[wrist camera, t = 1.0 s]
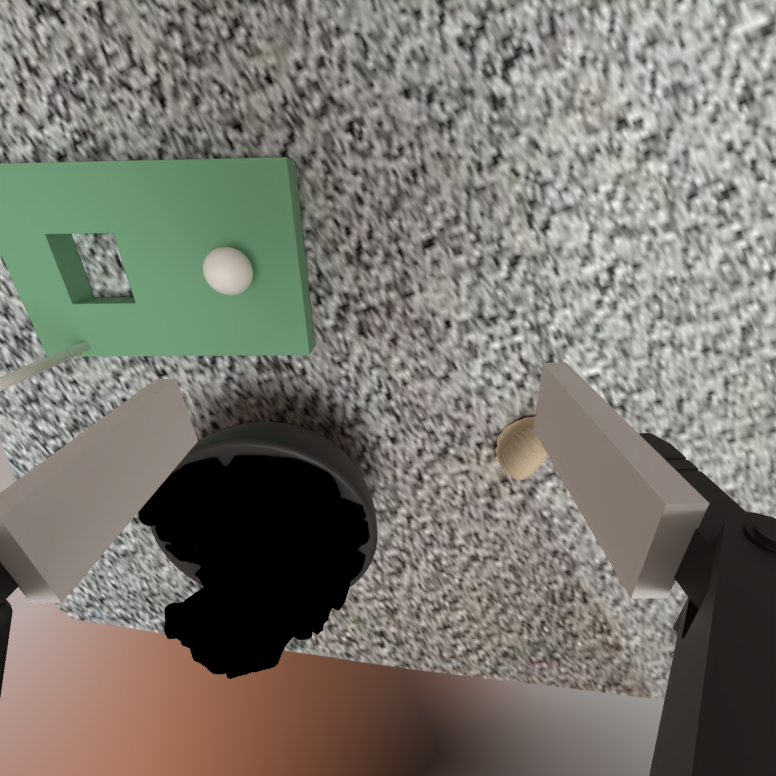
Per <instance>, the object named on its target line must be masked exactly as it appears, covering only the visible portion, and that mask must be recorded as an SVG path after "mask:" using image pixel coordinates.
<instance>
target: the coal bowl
mask: <svg viewBox="0 0 776 776" xmlns="http://www.w3.org/2000/svg"><path fill="white" fill-rule="evenodd" d="M138 514H139V518H140V521H141V522H142V523H143V524H144V525H147V526H150V527H151V530H152V533H153V535H154V537H155V539H156V541H157V543H158V545H159V546H160V548H161V549H162V551H163V552H164V554H165V555H166V556H167V557H168V558H169V560H170V561H171V562H172V563H173V564H174V565H175V566H176V567H177V568H178V569H179V570H181V571H182V572H183V573H184V574H186V575H187V576H188V577H190V578H191V579H192V580H194V581H195V582H197V583H199V584H200V585H202V586H204V587H203V588H202V589H200V590H199V591H197V592H195V593H194V594H193V595H192V596H190V597H189V598H187V599H186V600H185V601H184V602H180V603H171V604H169V605H167V606H166V607H165V611H164V612H165V627H164V632H165V634H166V636H167V638H169V639H175V638H176V639H178V640H180V641H181V644H182V645H183V646H186V647H188V648H190V650H191V654H192V657H193V660H194V661H196V662H199V663H201V664H202V665H203V666H205V667H206V668H207V669H208V670H209V671H210V672H212V673H213V674H225V673H226V675H227V677H228V678H230V679H232V678H235V677H238V676H241V675H245V674H248V673H251V672H258V671H261V670H265V669H270V668H272V667H275V666H276V665H277V664H278V662H279V660H280V657H281V654H282V652H283V650H284V647H285V646H286V645H287V644H288V642H289V641H290V640H291V639H292V638H293V637H295V638H296V639H297V640H306V639H309V638H311V637H312V632H314V633H315V634H316V635H317V634H319V633H320V632H321V631H323V626H324V623H325V622H326V621H327V620H328V618H329V614H330V611H331V609H332V608H333V609H335V610H340V609H341V607H342V606H343V604H344V602H345V600H346V597H347V594H348V590H349V587H351V586H352V585H353V584H355V583H356V582H357V581H358V580H359V579H360V578H361V577H362V575H363V574H364V573H365V572H366V570H367V569H368V567H369V565H370V563H371V561H372V559H373V556H374V553H375V550H376V545H377V521H376V513H375V508H374V504H373V501H372V497H371V494H370V492H369V489H368V487H367V485H366V482H365V480H364V478H363V476H362V475H361V473H360V472H359V470H358V469H357V467H356V465H355V464H354V463H353V462H352V460H351V459H350V458H349V457H348V456H347V455H346V454H345V453H344V452H343V451H342V450H341V449H340V448H339V447H338V446H336V445H335V444H334V443H333V442H331V441H330V440H328V439H327V438H325V437H323V436H322V435H320V434H318V433H316V432H314V431H311V430H309V429H306V428H304V427H300V426H297V425H293V424H288V423H282V422H252V423H245V424H240V425H236V426H232V427H229V428H225V429H222V430H220V431H217V432H215V433H213V434H210V435H208V436H206V437H204V438H203V439H201V440H199V441H198V442H197V443H196V444H195V445H194V446H193V448H192V449H191V450H190V451H189V452H188V454H187V455H186V456H185V457H184V458H183V459H182V461H181V462H180V463H179V464H178V465H177V467H176V468H175V469H174V470H173V471H172V473H171V474H170V475H169V476H168V477H167V478H166V480H165V481H164V482H163V483H162V484H161V486H160V487H159V488H158V489H157V490H156V492H155V493H154V494H153V495H152V496H151V497H150V499H149V500H148V501H147V502H146V503H145V505H144V506H143V507H142V508H141V509H140V510H139V513H138Z"/></svg>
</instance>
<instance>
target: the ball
mask: <svg viewBox="0 0 776 776" xmlns="http://www.w3.org/2000/svg"><path fill="white" fill-rule="evenodd" d="M203 274H204V277H205V279H206V281H207V282H208V284H209V285H210V286H211V287H212V288H213V289H214V290H216V291H217V292H219V293H222V294H225V295H236V294H240V293H242V292H244V291H245V290H246V289H247V288H248V287H249V286H250V284H251V282H252V279H253V269H252V266H251V263H250V261H249V260H248V258H247V257H246V256H245V255H244V254H243V253H242V252H240V251H238V250H236V249H234V248H230V247H220V248H216V249H214V250H212V251H211V252H210V253H209V254H208V255H207V256H206V258H205V260H204V263H203Z"/></svg>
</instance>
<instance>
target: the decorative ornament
mask: <svg viewBox="0 0 776 776" xmlns="http://www.w3.org/2000/svg"><path fill="white" fill-rule="evenodd" d="M534 423H535V417H534V416H533V417H525V418H523V419H522V420H516V421H515V422H513V423H512V424H510V425H508V426H506V427H505V428H504V429H503V431H502V433H501V434H500V435H499V436H498V438H497V447H496V449H495V452H496V454H497V456H496V460H497V461H498V462H499V463H500V465H501V467H502V469H503V470H504V472H505V473H506V474H508V475H509V476H511V477H512V478H514V479H516V480H524V479H526V478H527V477H529V476H530V475H531V474H532V473H534V472H535V471H536V470H537V469H538V468H539V466H540V465H541V464H542V463H543V462H544V461H545V460H546V458H547V457H548V454H547V453H546V451H545V449H544V447H543V446H542V444H541V442H540V441H539V439H538V437H537V435H536V434H535V432H534Z"/></svg>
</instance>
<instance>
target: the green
mask: <svg viewBox="0 0 776 776" xmlns="http://www.w3.org/2000/svg"><path fill="white" fill-rule="evenodd" d="M74 233H114V236H115V240H116V243H117V246H118V249H119V252H120V255H121V258H122V262H123V265H124V268H125V271H126V274H127V277H128V280H129V283H130V287H131V290H132V293H133V296H134V297H96V298H94V296H93V293H92V290H91V287H90V285H89V282H88V279H87V276H86V274H85V271H84V268H83V265H82V263H81V260H80V257H79V255H78V252H77V249H76V246H75V244H74V241H73V238H72V235H71V234H74ZM220 247H230V248H234V249H236V250H238V251H240V252H242V253H243V254H244V255H245V256H246V257H247V258H248V260H249V261H250V263H251V266H252V269H253V279H252V282H251V284H250V286H249V287H248V288H247V289H246V290H245V291H244V292H242V293H240V294H236V295H225V294H222V293H219V292H217V291H216V290H214V289H213V288H212V287H211V286H210V285H209V284H208V282H207V281H206V279H205V277H204V274H203V263H204V260H205V258H206V256H207V255H208V254H209V253H210V252H211V251H212V250H214V249H216V248H220ZM0 253H1V255H2V257H3V260H4V262H5V264H6V266H7V268H8V271H9V273H10V275H11V277H12V279H13V282H14V284H15V286H16V288H17V290H18V293H19V295H20V297H21V299H22V301H23V304H24V306H25V308H26V310H27V312H28V315H29V317H30V319H31V321H32V324H33V326H34V328H35V330H36V332H37V335H38V337H39V339H40V341H41V343H42V346H43V348H44V350H45V352H46V354H47V358H44V359H42V360H40V361H37V362H35V363H33V364H30V365H28V366H26V367H24V368H21V369H19V370H17V371H14V372H12V373H10V374H7V375H5V376H3V377H0V391H2V390H4V389H6V388H8V387H10V386H12V385H15V384H17V383H19V382H21V381H23V380H25V379H27V378H30V377H32V376H34V375H36V374H38V373H40V372H43V371H45V370H47V369H49V368H51V367H53V366H56V365H58V364H60V363H62V362H64V361H66V360H68V359H71V358H73V357H75V356H230V355H310V353H311V352H312V350H313V348H314V347H315V339H314V329H313V320H312V311H311V302H310V293H309V284H308V274H307V265H306V256H305V247H304V238H303V229H302V219H301V210H300V201H299V192H298V183H297V174H296V164H295V161H294V160H291V159H289V158H287V157H274V158H229V159H185V160H140V161H96V162H51V163H7V164H0Z"/></svg>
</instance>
